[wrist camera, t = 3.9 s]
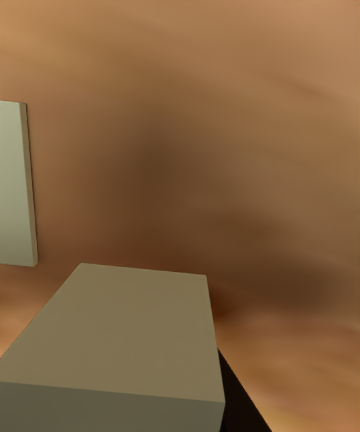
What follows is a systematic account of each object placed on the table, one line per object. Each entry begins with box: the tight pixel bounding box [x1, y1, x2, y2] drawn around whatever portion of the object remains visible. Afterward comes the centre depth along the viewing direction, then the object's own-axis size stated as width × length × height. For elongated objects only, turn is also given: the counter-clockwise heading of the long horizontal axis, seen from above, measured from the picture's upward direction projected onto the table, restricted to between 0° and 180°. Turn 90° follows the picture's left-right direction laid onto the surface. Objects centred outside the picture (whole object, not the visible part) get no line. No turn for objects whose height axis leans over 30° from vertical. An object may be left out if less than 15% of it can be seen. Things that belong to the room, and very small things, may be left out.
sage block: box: [0, 263, 225, 432], centre depth 7 cm, size 4×4×4 cm
